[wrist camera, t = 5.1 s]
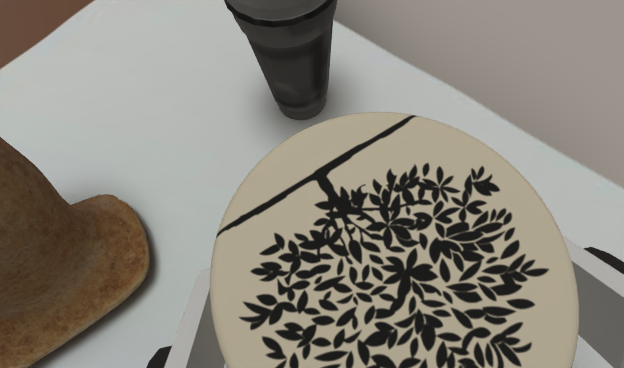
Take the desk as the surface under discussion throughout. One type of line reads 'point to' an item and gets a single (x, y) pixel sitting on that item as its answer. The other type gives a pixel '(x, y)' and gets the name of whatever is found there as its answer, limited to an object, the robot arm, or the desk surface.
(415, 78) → the desk surface
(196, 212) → the desk surface
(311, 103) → the beverage cup
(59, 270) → the stone cup
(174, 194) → the desk surface
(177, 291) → the desk surface
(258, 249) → the travel mug
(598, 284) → the robot arm
